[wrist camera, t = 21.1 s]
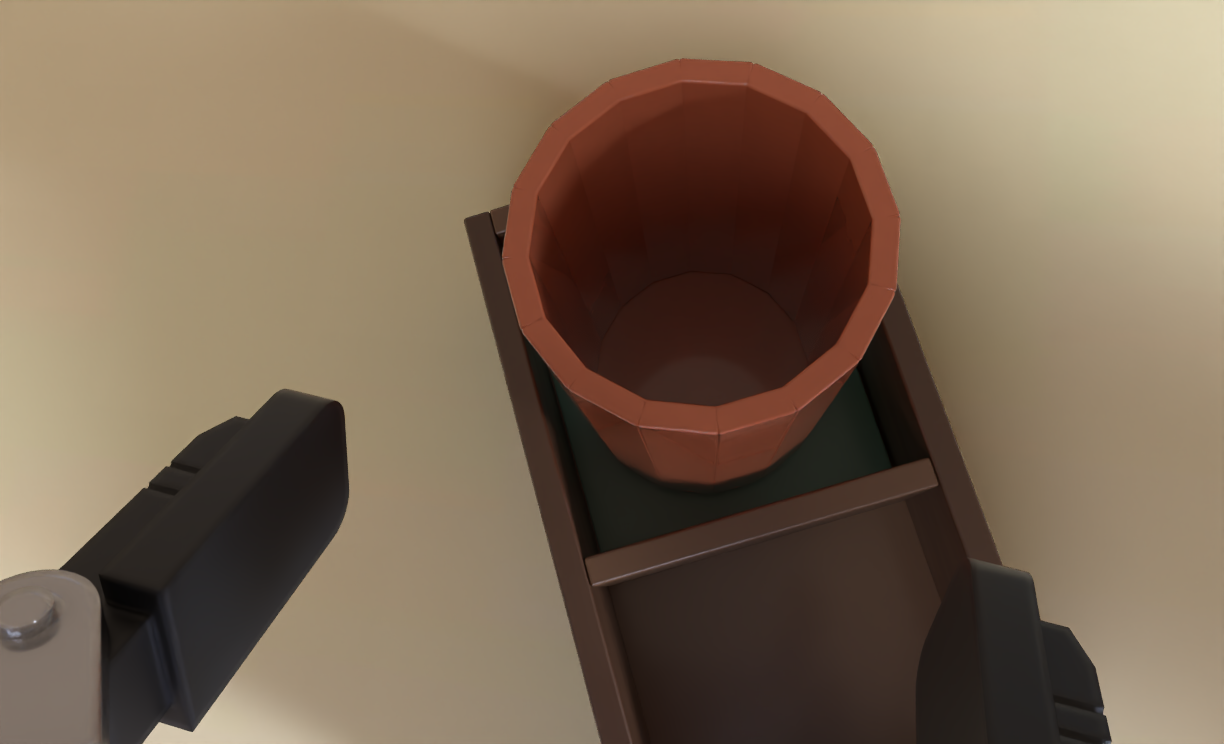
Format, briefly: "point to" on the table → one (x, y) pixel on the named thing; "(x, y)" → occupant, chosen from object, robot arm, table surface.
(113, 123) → the table surface
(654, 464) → the cup
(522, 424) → the dark brown open box
